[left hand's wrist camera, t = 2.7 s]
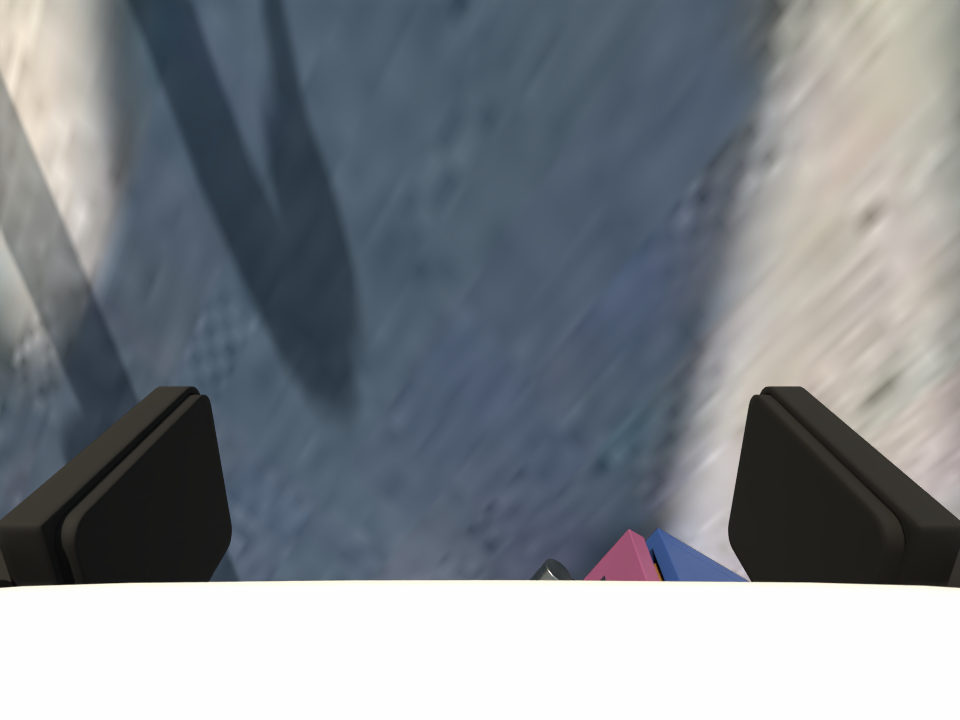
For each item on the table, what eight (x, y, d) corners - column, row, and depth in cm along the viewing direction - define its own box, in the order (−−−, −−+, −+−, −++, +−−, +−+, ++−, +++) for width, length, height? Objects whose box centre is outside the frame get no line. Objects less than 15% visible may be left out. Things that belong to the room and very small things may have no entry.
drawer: (474, 586, 40) (471, 702, 32) (556, 486, 37) (575, 585, 30) (751, 732, 45) (808, 865, 37) (842, 652, 42) (925, 777, 34)
